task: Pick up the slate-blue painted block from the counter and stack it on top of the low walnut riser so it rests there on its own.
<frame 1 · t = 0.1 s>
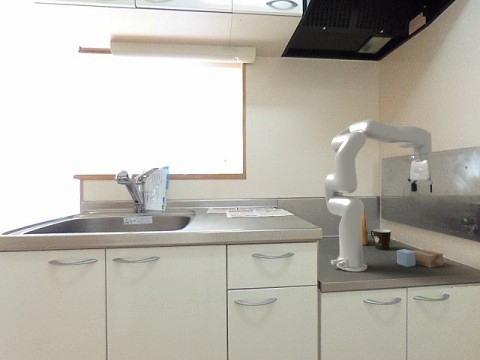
hand: (423, 192, 130), 31 cm above the worktop, tool pointing down, fingers open, 9 cm apart
blue block: (406, 264, 118), on the worktop
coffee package: (356, 243, 155), on the worktop
coffee mug: (381, 248, 144), on the worktop
walnut riser: (427, 263, 117), on the worktop
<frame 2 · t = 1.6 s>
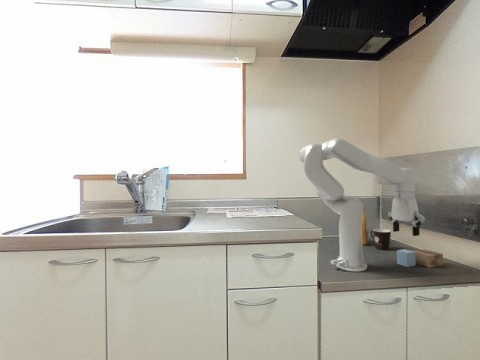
hand: (405, 233, 117), 14 cm above the worktop, tool pointing down, fingers open, 9 cm apart
nothing on the worktop moved.
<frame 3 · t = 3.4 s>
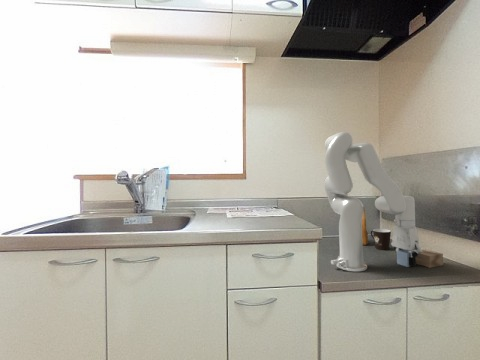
hand: (406, 263, 118), 0 cm above the worktop, tool pointing down, fingers closed on blue block, 5 cm apart
blue block: (406, 264, 118), on the worktop, touching gripper
everything else where it was.
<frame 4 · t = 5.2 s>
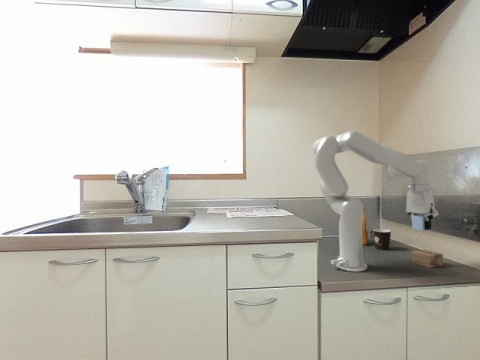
hand: (421, 227, 117), 16 cm above the worktop, tool pointing down, fingers closed on blue block, 5 cm apart
blue block: (421, 228, 117), point 16 cm above the worktop, touching gripper
everything else where it was.
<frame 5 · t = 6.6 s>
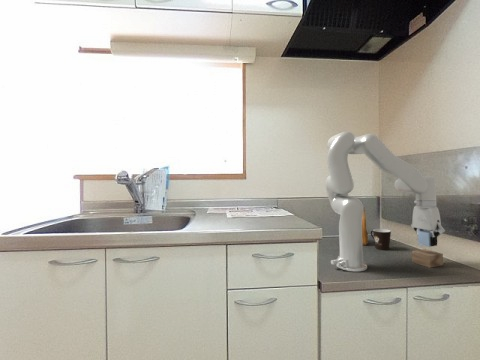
hand: (427, 243, 117), 9 cm above the worktop, tool pointing down, fingers closed on blue block, 5 cm apart
blue block: (427, 244, 117), point 8 cm above the worktop, touching gripper
everything else where it was.
when the fingers open (7 cm above the worktop, at t = 7.4 s): blue block drops 1 cm, resting on walnut riser.
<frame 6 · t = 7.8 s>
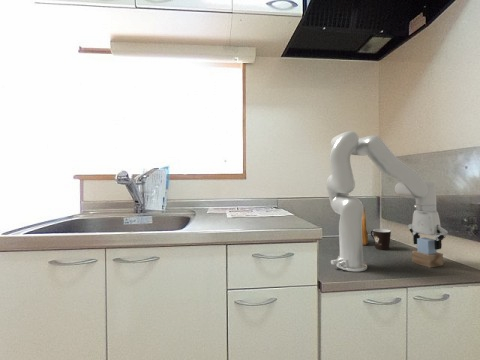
hand: (426, 246, 117), 8 cm above the worktop, tool pointing down, fingers open, 9 cm apart
blue block: (426, 252, 117), point 5 cm above the worktop, touching walnut riser
everything else where it was.
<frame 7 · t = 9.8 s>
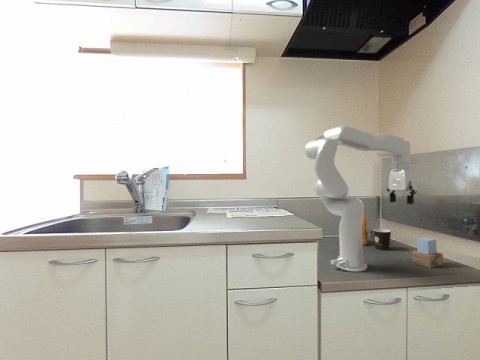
hand: (401, 202, 125), 27 cm above the worktop, tool pointing down, fingers open, 9 cm apart
nothing on the worktop moved.
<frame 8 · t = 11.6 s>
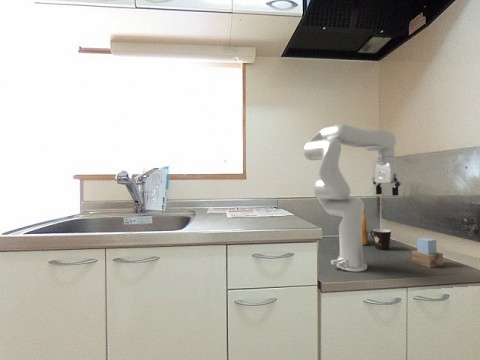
hand: (386, 194, 131), 30 cm above the worktop, tool pointing down, fingers open, 9 cm apart
nothing on the worktop moved.
at the end: blue block 0.1 cm off-centre on the walnut riser, point 5.0 cm above the walnut riser's base; blue block tilted 0°; the gripper is holding nothing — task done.
